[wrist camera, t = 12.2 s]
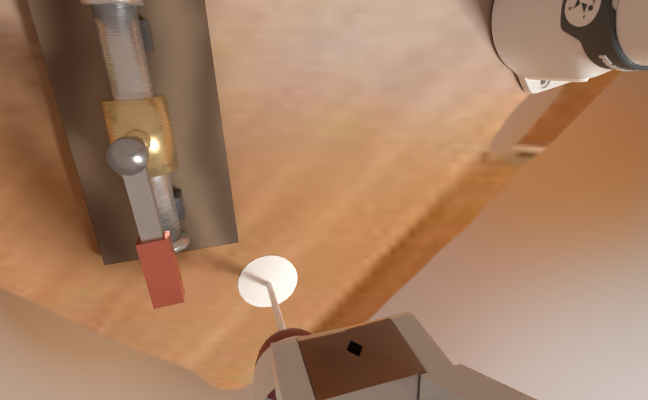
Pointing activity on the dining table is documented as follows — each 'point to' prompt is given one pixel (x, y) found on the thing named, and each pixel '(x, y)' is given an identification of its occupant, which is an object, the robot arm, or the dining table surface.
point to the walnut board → (166, 78)
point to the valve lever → (147, 222)
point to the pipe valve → (138, 103)
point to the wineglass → (270, 290)
